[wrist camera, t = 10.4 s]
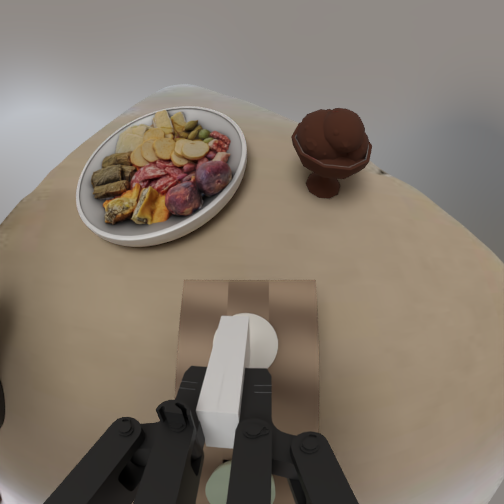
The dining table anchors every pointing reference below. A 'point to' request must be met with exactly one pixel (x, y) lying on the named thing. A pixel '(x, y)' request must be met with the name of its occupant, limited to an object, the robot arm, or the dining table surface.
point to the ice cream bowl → (331, 148)
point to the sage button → (225, 485)
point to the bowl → (161, 176)
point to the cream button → (260, 341)
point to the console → (284, 365)
